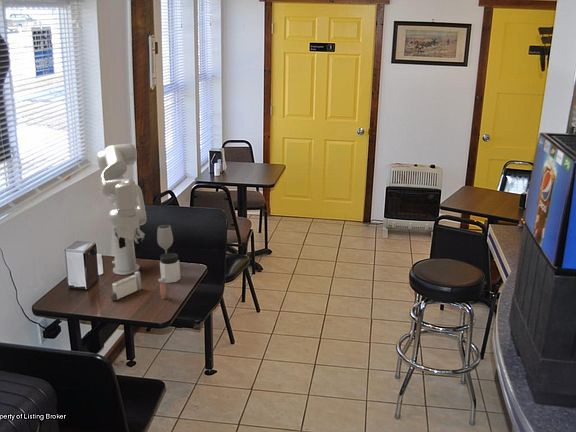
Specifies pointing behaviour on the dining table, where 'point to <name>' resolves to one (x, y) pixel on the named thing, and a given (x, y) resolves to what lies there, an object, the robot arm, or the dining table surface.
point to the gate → (126, 286)
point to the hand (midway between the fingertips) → (130, 249)
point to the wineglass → (164, 236)
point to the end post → (162, 288)
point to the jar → (170, 267)
